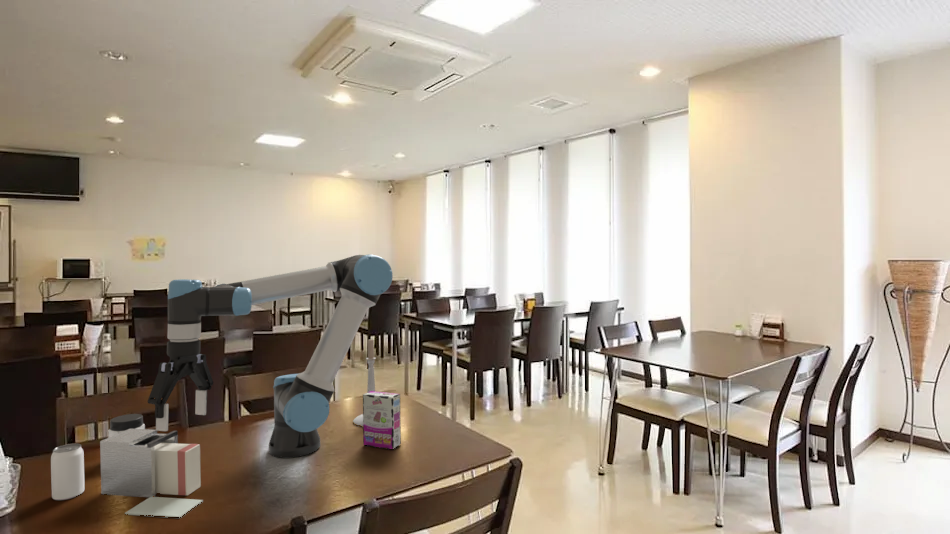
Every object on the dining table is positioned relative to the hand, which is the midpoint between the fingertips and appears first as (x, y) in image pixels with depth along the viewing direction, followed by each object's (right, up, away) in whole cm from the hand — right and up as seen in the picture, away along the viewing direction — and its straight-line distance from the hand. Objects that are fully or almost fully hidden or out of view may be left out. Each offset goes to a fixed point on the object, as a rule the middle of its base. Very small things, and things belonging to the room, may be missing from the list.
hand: (182, 422), depth 132 cm
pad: (+1, -18, -10) cm, 20 cm away
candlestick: (+38, -16, +53) cm, 67 cm away
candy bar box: (+46, -17, +30) cm, 57 cm away
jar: (-28, -17, +20) cm, 38 cm away
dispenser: (-11, -17, +1) cm, 21 cm away
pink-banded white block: (-3, -17, 0) cm, 18 cm away
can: (-27, -18, -3) cm, 32 cm away
